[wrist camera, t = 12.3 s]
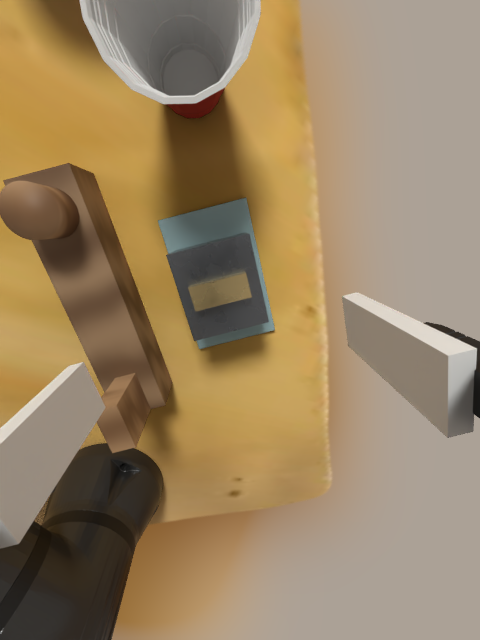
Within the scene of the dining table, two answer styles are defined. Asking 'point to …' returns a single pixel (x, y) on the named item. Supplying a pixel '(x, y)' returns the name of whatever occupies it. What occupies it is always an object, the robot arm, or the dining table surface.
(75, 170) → the plane body
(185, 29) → the plastic cup
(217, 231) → the rubber mat
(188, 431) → the dining table surface
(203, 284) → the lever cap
